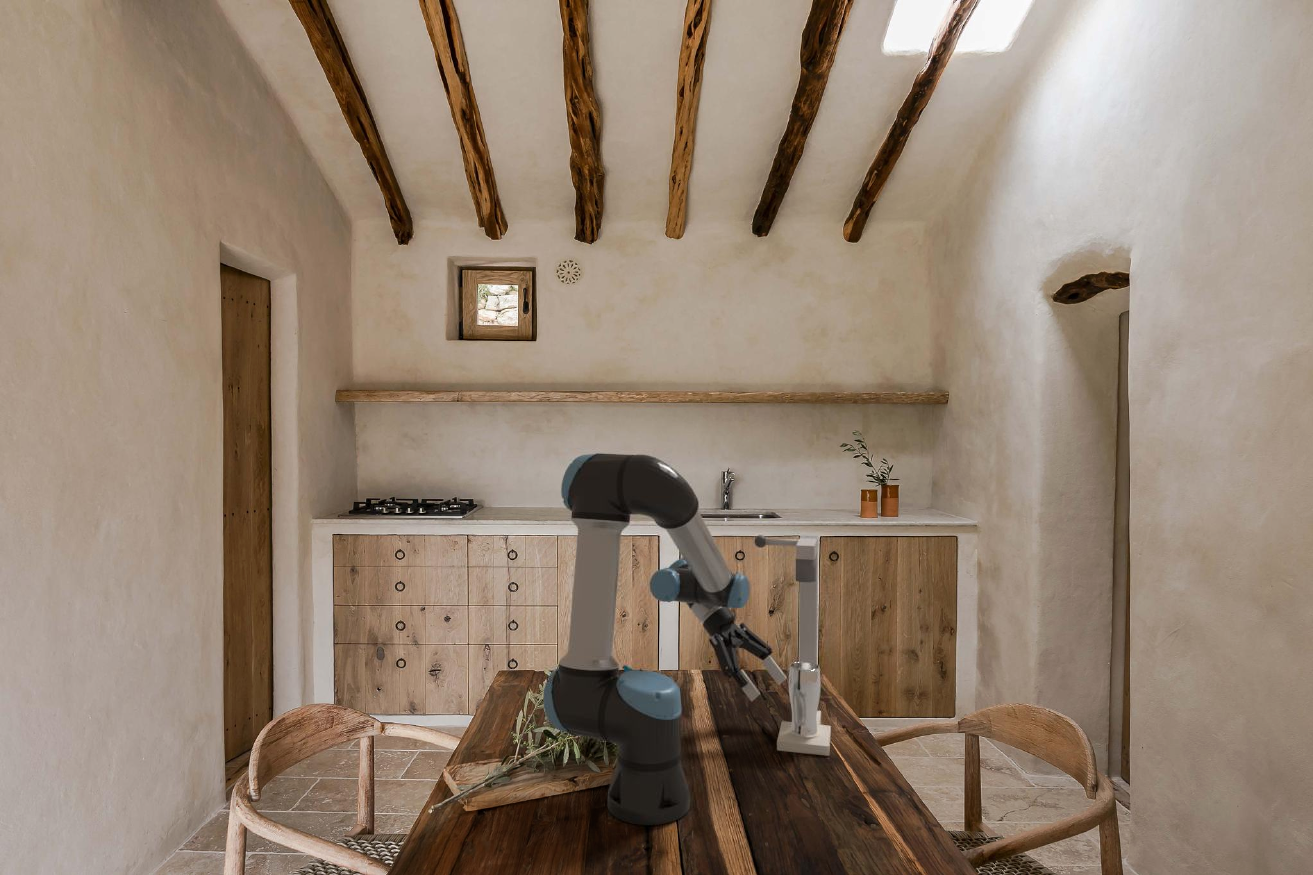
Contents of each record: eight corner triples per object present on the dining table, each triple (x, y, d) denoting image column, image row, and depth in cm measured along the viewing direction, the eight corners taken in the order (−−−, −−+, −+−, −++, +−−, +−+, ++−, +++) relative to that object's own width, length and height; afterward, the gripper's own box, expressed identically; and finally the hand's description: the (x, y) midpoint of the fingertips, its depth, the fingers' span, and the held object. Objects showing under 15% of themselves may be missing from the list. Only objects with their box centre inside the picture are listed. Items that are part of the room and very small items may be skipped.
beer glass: (786, 736, 168) (786, 668, 168) (790, 725, 175) (790, 659, 175) (818, 740, 166) (819, 671, 166) (821, 729, 173) (821, 662, 172)
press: (829, 755, 163) (830, 549, 163) (742, 746, 168) (743, 545, 167) (831, 720, 183) (832, 536, 183) (754, 712, 188) (755, 533, 188)
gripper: (729, 614, 195) (782, 684, 187) (675, 634, 175) (732, 714, 166) (748, 596, 192) (803, 666, 184) (695, 614, 172) (754, 695, 163)
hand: (769, 689), depth 175 cm, fingers open, 13 cm apart
